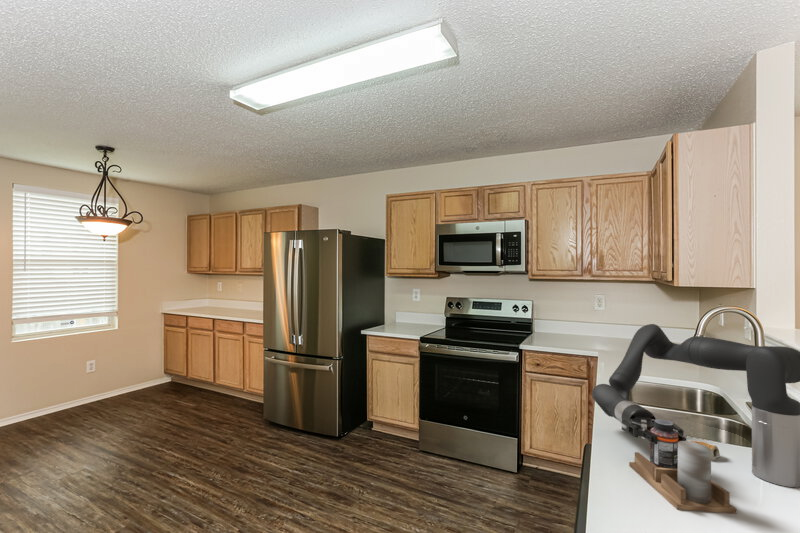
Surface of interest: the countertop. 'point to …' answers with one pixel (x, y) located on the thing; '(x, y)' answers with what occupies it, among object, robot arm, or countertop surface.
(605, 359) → the countertop surface
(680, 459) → the rail rack
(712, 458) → the pastry
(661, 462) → the supplement bottle
